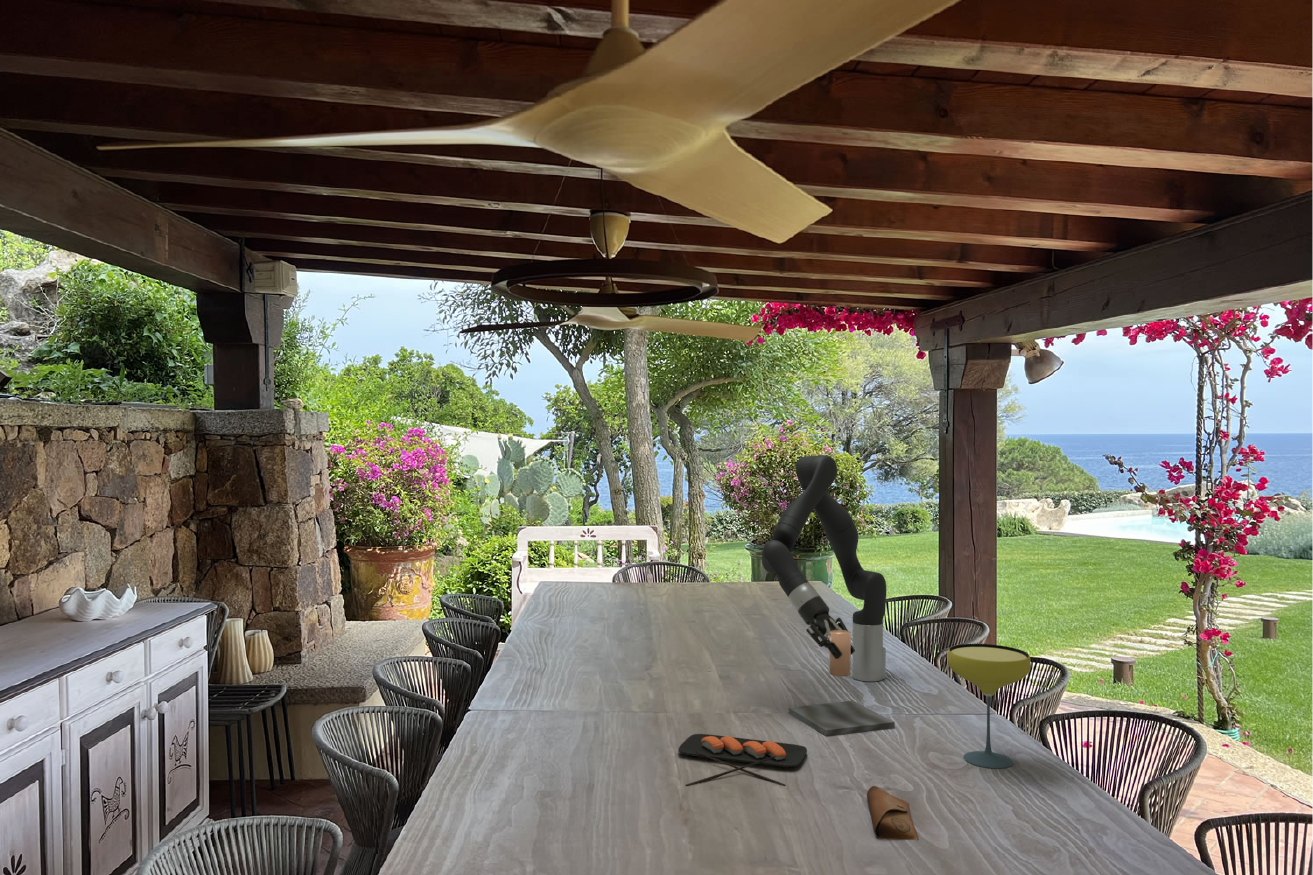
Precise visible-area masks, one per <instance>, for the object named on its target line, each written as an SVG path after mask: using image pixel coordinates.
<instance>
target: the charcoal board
mask: <svg viewBox="0 0 1313 875" xmlns="http://www.w3.org/2000/svg"><path fill="white" fill-rule="evenodd" d="M788 714H790V715H791V716H792V717H794V718H795V719H797V718H798V720H800V721H801V722H802V723H804V724H806V725H807V726H808V727H810V728H812V729H814V730H815V731H817V732H818V733H821V734H822V735H823V736H825V737H829V736H839V735H845V734H847V735H848V734H856V733H863V732H871V731H878V730H879V731H880V730H888V729H889V730H890V729H895V726H896V725H895V721H894V720H892V719H890V718H888V717H886V716H884V715H882V714H880V713H878V712H876V711H874V710H872V709H870V708H868V707H866V706H864V705H862V704H860V703H859V702H857V701H854V700H847V701H835V702H827V703H820V704H819V703H818V704H808V705H800V706H799V705H798V706H790V707H788Z"/></svg>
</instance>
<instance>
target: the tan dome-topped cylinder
mask: <svg viewBox="0 0 1313 875" xmlns="http://www.w3.org/2000/svg"><path fill="white" fill-rule="evenodd" d="M830 633H831V638H832V640H833V643H835V644H836V646H837V647H838V648H839V650H840V651H841V653H842V656H841V657H840V658H838V659H835V657H834V656H833V655H832V654H831V652H830V651H829V650H828V652H829V655H828V660H829V661H828V662H829V664H828V669H829V671H828V673H829V675H831V676H835V677H849V676H851V668H852V667H851V664H852V663H851V662H852V660H851V658H852V657H851V656H852V655H851V645H852V643H851V636H852V634H851V633H852V632H851V631H850V630H848V631H846V630H832V631H831V632H830Z"/></svg>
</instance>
